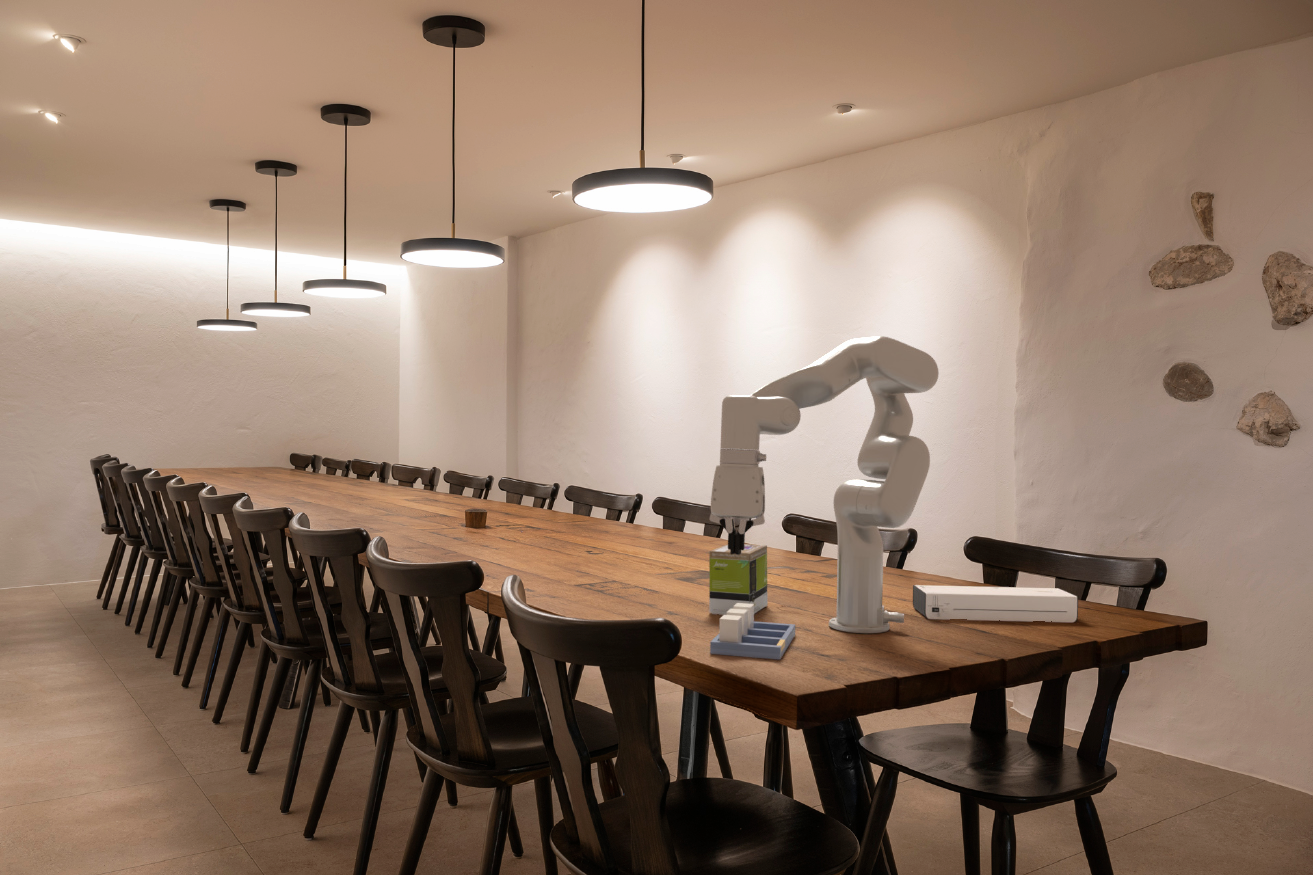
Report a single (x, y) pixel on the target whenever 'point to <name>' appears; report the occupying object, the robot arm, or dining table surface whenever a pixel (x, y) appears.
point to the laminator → (995, 603)
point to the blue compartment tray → (758, 641)
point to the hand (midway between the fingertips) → (735, 553)
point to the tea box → (737, 578)
